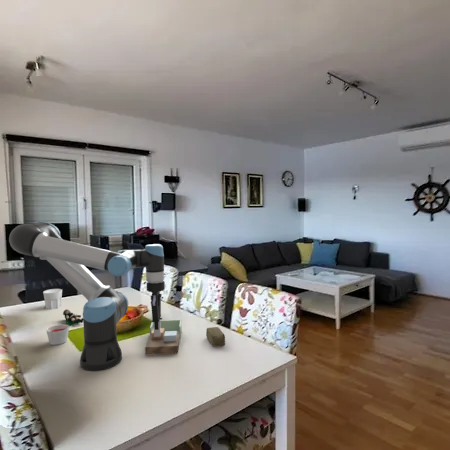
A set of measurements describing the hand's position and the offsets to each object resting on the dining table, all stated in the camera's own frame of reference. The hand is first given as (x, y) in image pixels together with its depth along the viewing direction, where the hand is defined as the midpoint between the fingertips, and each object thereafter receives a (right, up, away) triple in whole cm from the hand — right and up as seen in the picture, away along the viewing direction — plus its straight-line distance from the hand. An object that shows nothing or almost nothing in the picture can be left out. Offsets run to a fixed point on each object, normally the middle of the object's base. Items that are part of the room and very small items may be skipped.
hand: (157, 335), depth 139 cm
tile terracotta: (0, -1, +3) cm, 3 cm away
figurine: (-50, -4, +31) cm, 59 cm away
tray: (+2, -4, +11) cm, 12 cm away
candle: (-45, -5, +6) cm, 46 cm away
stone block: (+25, -4, +4) cm, 25 cm away
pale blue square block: (+6, -1, 0) cm, 6 cm away
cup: (-74, -2, +57) cm, 94 cm away
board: (+3, -4, -1) cm, 5 cm away
